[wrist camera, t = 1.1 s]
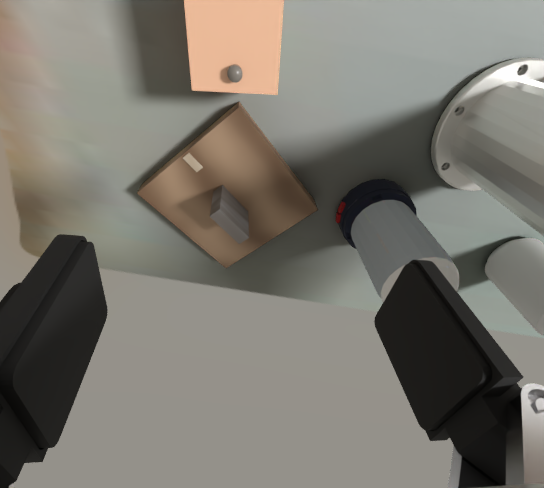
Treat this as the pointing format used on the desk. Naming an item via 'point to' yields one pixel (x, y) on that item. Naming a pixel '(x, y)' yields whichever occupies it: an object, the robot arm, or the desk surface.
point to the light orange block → (234, 45)
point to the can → (520, 277)
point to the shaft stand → (229, 189)
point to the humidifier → (389, 233)
